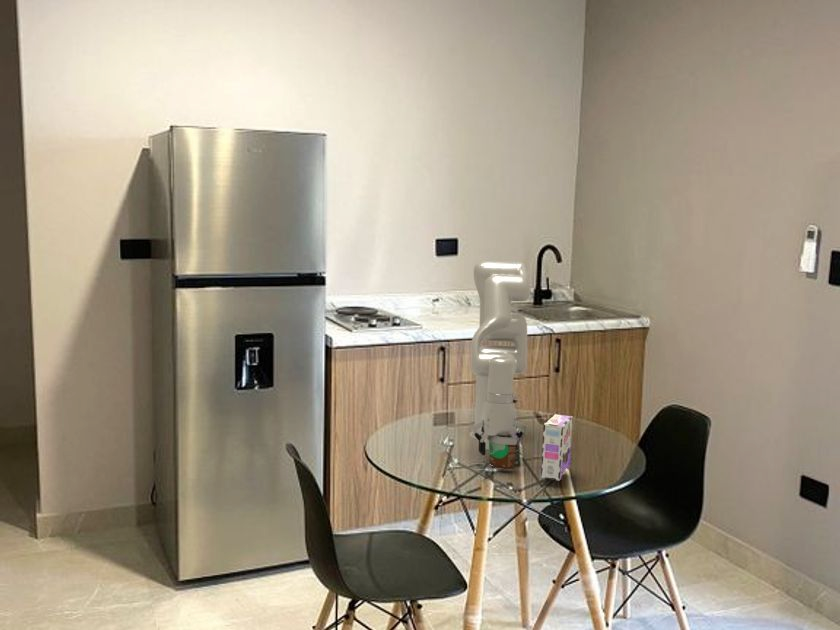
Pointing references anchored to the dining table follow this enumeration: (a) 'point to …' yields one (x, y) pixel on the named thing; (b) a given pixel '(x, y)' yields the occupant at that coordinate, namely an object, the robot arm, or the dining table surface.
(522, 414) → the dining table surface
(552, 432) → the candy box
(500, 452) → the food container
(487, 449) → the salt cellar
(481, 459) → the dining table surface
